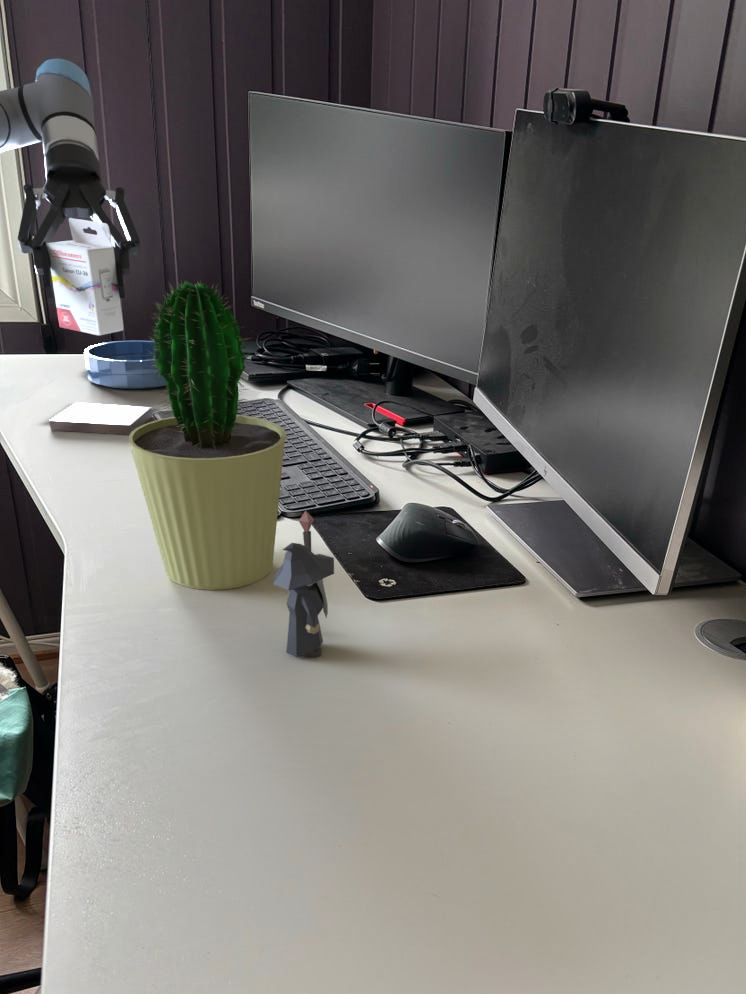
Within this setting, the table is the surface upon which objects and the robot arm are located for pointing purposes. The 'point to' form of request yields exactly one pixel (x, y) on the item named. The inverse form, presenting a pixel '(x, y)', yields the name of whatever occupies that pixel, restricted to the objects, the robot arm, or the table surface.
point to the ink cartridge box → (86, 280)
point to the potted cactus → (208, 451)
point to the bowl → (123, 365)
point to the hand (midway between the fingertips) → (85, 292)
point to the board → (101, 418)
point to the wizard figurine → (304, 592)
